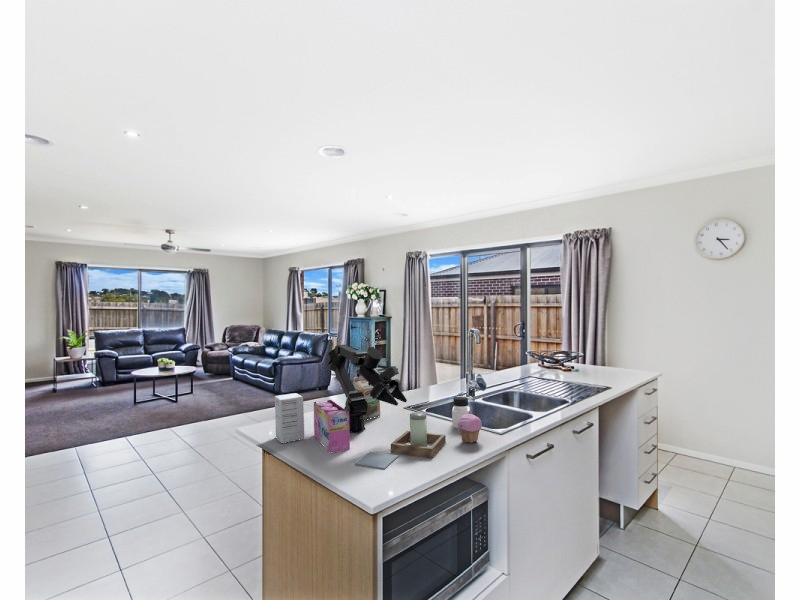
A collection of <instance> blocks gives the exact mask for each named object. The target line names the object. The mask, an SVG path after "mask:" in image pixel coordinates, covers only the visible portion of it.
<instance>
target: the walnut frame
mask: <svg viewBox="0 0 800 600" xmlns="http://www.w3.org/2000/svg"><path fill="white" fill-rule="evenodd" d="M408 441H411V440H410V430H406V431H404V433H402V434H401V435H400V436H398V437H397V438H395V440H394V441H392V442H391V443H390V453H393V454H397V455H398V454H399V455H408V456H413V457H414V456H415V457H422V458H429V457H431V459H433V458H434V457H435V456H436V455H435V454H437V453H439V451H440V450H441V449H442V447H444V445H446V442H447V441H446V434H443V433H441V434H440V433H432V432H427V443H432V444H431V446H430V447H429V446H427V447H422V446H414V445H411V444H406V443H407V442H408Z"/></svg>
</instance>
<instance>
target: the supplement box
mask: <svg viewBox="0 0 800 600" xmlns="http://www.w3.org/2000/svg"><path fill="white" fill-rule="evenodd" d="M304 412H305V411H304V396H302V395H300V394H299V393H296V392H295V393H287V394H279V395H275V396H274V413H275V421H274V423H275V438H276V437H277V438H276V440H277V441H278V440H279V441H280V442H281V443H283V444H286V443H285V442H288V443H290V442H289V441H293V442H295V441H294V440H298V441H300V440H299V439H304V440H305V415H304V414H305V413H304ZM279 441H278V442H279ZM280 442H279V443H280ZM281 443H280V444H281Z"/></svg>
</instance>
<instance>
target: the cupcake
mask: <svg viewBox="0 0 800 600" xmlns="http://www.w3.org/2000/svg"><path fill="white" fill-rule="evenodd" d="M458 427H459V428H458V429H459V430H460V436H461V441H462V443H463V442H464V443H467V442H469V443H468V444H473V443H474V442H477V441H478V439H479V434H480V431H481V429H482V427H483V424H482V420H481V419H480V417H478V416H477V415H475V414H472V413H470V414H466V415H463V416H462V417H461V418H460V419H459V421H458Z"/></svg>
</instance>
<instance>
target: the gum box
mask: <svg viewBox="0 0 800 600" xmlns="http://www.w3.org/2000/svg"><path fill="white" fill-rule="evenodd" d="M313 433H314V437H315V438H316V437H317V438H318V439H319V440H318V439H317V438H316V439H317V440H318V441H319V443H320V442H321V443H322V444H323V445H324V446H323V445H322V444H321V443H320V444H321V445H322V446H323V448H325V450H326V449H327V450H328V451H329V452H330V453H329V452H328V451H327V450H326V451H327V452H328V453H329V454H332V453H331V452H333V453H338V452H337V451H339V452H344V451H348V450H350V449H351V448H350V447H351V445H350V443H351V440H350V439H351V437H350V435H351V432H350V431H349V412H348V411H347V410H345V409H344V407H342V406H341V405H339V404H338V403H336V402H335V401H334V400H332V399H328V400H327V402H326V401H321V402H317V401H313ZM343 450H344V451H343Z"/></svg>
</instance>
